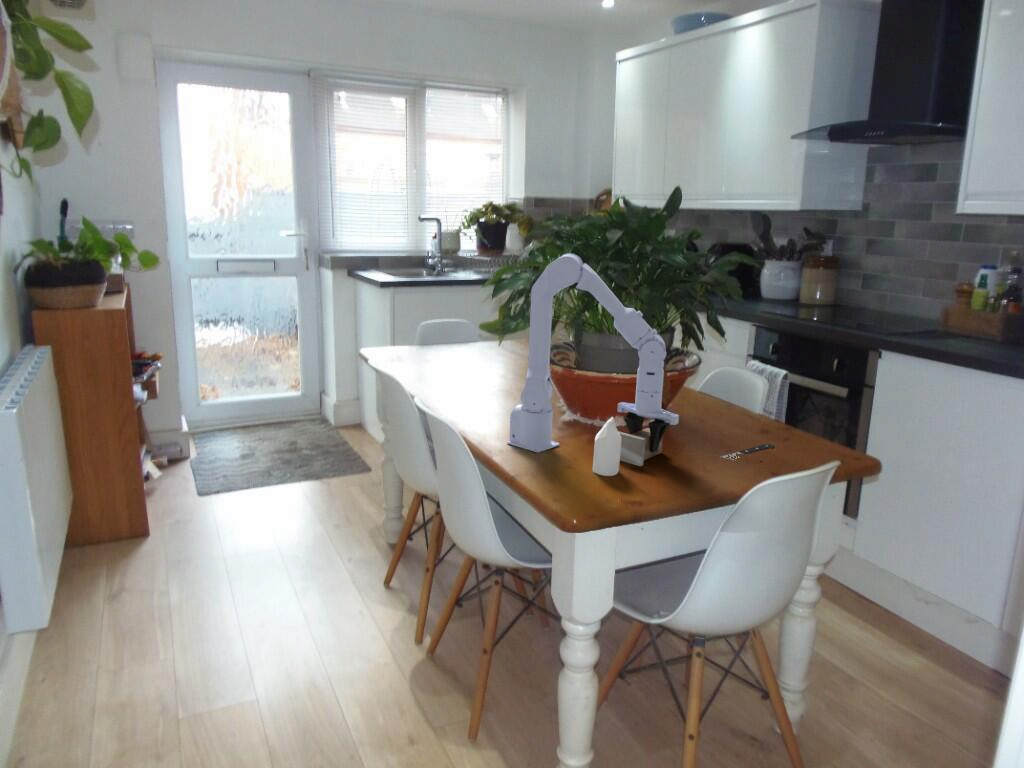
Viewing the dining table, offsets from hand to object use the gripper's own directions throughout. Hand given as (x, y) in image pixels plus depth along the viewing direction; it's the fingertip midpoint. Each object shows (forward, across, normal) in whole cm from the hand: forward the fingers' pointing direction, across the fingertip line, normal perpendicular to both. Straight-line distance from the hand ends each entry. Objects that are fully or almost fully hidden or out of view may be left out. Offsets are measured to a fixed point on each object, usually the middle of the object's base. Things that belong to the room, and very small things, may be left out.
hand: (644, 448), depth 167 cm
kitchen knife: (+2, -17, -13) cm, 21 cm away
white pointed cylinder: (+2, 0, +15) cm, 15 cm away
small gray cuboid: (+1, 0, +1) cm, 2 cm away
